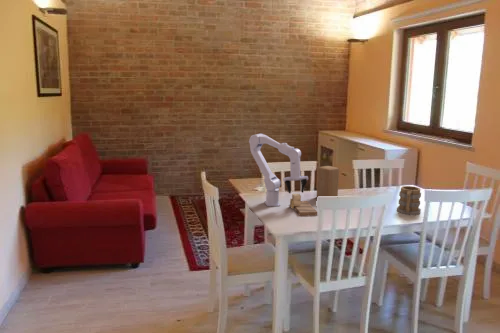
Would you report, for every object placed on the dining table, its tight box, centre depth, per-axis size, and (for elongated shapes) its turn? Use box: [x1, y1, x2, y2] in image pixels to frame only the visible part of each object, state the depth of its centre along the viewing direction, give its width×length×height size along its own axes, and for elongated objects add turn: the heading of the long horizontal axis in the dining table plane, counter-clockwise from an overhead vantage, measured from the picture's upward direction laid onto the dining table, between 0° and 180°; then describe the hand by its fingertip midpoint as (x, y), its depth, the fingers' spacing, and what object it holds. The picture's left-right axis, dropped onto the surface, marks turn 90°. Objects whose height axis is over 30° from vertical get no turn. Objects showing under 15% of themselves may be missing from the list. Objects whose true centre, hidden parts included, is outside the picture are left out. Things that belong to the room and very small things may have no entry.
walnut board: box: [294, 200, 318, 217], centre depth 260 cm, size 22×10×2 cm, turn 8°
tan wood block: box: [289, 193, 302, 210], centre depth 262 cm, size 5×5×8 cm
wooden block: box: [316, 165, 340, 198], centre depth 284 cm, size 10×10×20 cm
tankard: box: [396, 185, 422, 216], centre depth 256 cm, size 20×13×15 cm, turn 152°
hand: (296, 192), depth 261 cm, fingers open, 7 cm apart
